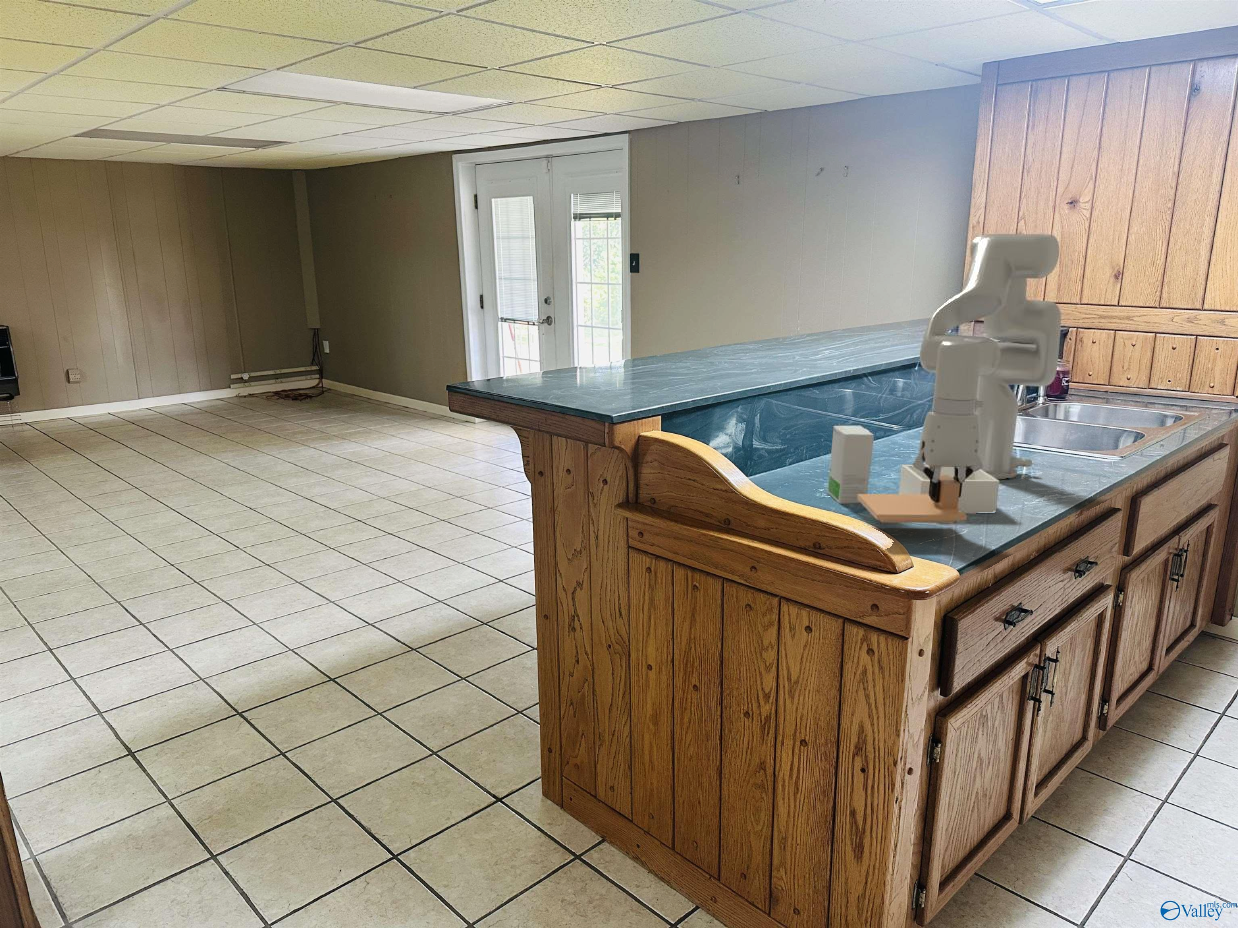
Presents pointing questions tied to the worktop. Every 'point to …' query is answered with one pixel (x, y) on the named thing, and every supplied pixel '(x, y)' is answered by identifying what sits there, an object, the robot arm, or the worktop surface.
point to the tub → (974, 495)
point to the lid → (916, 505)
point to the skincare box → (850, 463)
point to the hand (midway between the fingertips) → (944, 499)
